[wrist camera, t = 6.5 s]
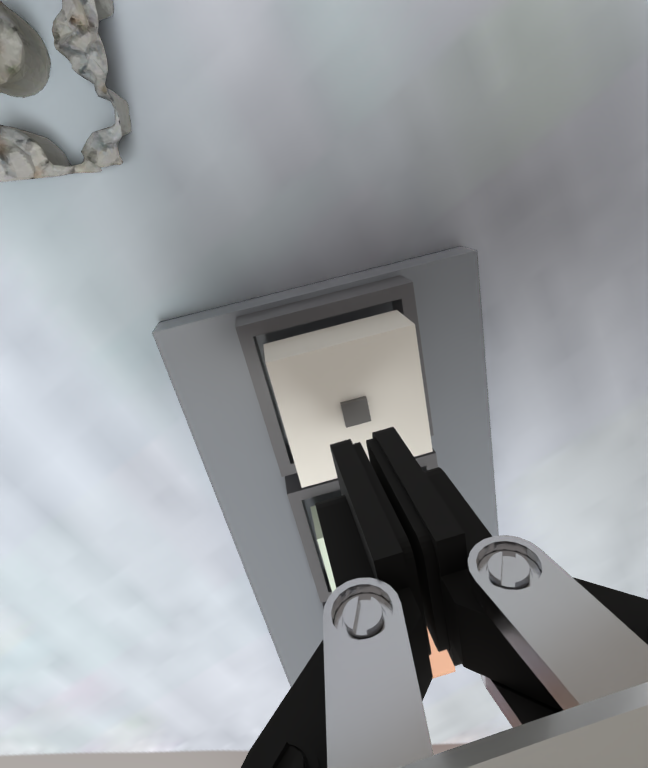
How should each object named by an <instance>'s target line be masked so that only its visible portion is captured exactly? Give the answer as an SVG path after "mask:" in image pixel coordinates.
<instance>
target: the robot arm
mask: <svg viewBox="0 0 648 768" xmlns="http://www.w3.org/2000/svg"><path fill="white" fill-rule="evenodd" d="M366 445H367V450H368V455H369V459H368V457H367V455H366V453H365V451H364V449H363V447H362V445H361V443H360V442H358V443H354V444H353V443H352V441H351V439H348V440H344V441H341V442H337V443H334V444H330V449H331V453H332V457H333V461H334V465H335V469H336V473H337V477H338V481H339V485H340V490H341V494H342V496H339V497H335V498H332V499H329V500H325V501H322V502H318V503H315V506H316V510H317V514H318V518H319V522H320V526H321V530H322V534H323V538H324V542H325V546H326V550H327V553H328V557H329V561H330V565H331V569H332V573H333V577H334V581H335V585H336V589H335V590H334V591H333V593H332V594H331V595H330V596H329V597H328V600H327V602H326V604H325V606H324V611H323V640H322V642H321V643H320V645H319V646H318V648H317V649H316V651H315V652H314V654H313V655H312V657H311V658H310V660H309V661H308V663H307V664H306V666H305V667H304V669H303V670H302V672H301V674H300V675H299V677H298V678H297V680H296V681H295V683H294V684H293V686H292V687H291V689H290V690H289V692H288V693H287V695H286V696H285V698H284V699H283V701H282V702H281V704H280V705H279V707H278V708H277V710H276V711H275V713H274V714H273V716H272V717H271V719H270V720H269V722H268V724H267V725H266V727H265V728H264V730H263V731H262V733H261V734H260V736H259V737H258V739H257V740H256V742H255V743H254V745H253V746H252V748H251V749H250V751H249V753H248V755H247V757H246V759H245V761H244V763H243V765H242V766H241V768H648V599H644V598H641V597H637V596H634V595H631V594H627V593H624V592H621V591H617V590H614V589H610V588H607V587H604V586H600V585H597V584H594V583H590V582H587V581H583V580H580V579H577V578H573V577H571V576H570V575H569V574H568V573H567V572H566V571H565V570H564V569H562V568H561V567H560V566H559V565H558V564H557V563H556V562H555V561H554V560H552V559H551V558H550V557H549V556H548V555H547V554H546V553H545V552H544V551H542V550H541V549H540V548H539V547H537V546H536V545H534V544H533V543H531V542H530V541H527V540H524V539H522V538H519V537H514V536H508V535H502V536H493V537H492V535H491V534H490V532H489V531H488V530H487V528H486V527H485V526H484V524H483V523H482V522H481V520H480V519H479V518H478V516H477V515H476V514H475V512H474V511H473V510H472V508H471V507H470V506H469V504H468V503H467V501H466V500H465V499H464V497H463V496H462V495H461V493H460V492H459V491H458V489H457V488H456V487H455V485H454V484H453V483H452V481H451V480H450V479H449V477H448V476H447V475H446V473H445V472H444V471H443V470H442V469H441V468H440V467H437V468H434V469H430V470H427V471H423V470H422V468H421V467H420V465H419V464H418V462H417V461H416V459H415V458H414V456H413V455H412V453H411V452H410V450H409V449H408V447H407V446H406V444H405V443H404V441H403V440H402V438H401V437H400V435H399V434H398V432H397V431H396V429H395V428H394V427H390V428H386V429H383V430H379V431H376V432H373V433H372V439H368V440H366ZM369 460H370V461H369ZM427 628H428V630H429V633H430V635H431V637H432V639H433V642H434V644H435V646H436V648H437V650H438V651H439V652H441V651H444V650H447V651H448V653H449V656H450V658H451V660H452V662H453V664H454V666H455V665H458V664H461V663H462V664H463V666H464V667H466V668H468V669H470V670H472V671H474V672H477V673H479V674H481V679H482V681H483V683H484V685H485V687H486V689H487V690H488V692H489V693H490V695H491V696H492V698H493V699H494V701H495V702H496V703H497V705H498V706H499V708H500V709H501V711H502V712H503V714H504V715H505V717H506V718H507V720H508V721H509V723H510V724H511V726H512V727H513V728H511V729H508V730H505V731H502V732H500V733H497V734H494V735H491V736H488V737H485V738H482V739H479V740H476V741H473V742H471V743H468V744H465V745H462V746H459V747H456V748H453V749H450V750H447V751H444V752H442V753H439V754H436V755H434V754H433V750H432V745H431V740H430V735H429V731H428V726H427V722H426V717H425V712H424V708H423V703H422V701H423V698H424V696H425V694H426V692H427V689H428V687H429V685H430V682H431V680H432V678H433V674H432V669H431V663H430V658H429V655H431V647H430V642H429V636H428V631H427Z"/></svg>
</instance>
